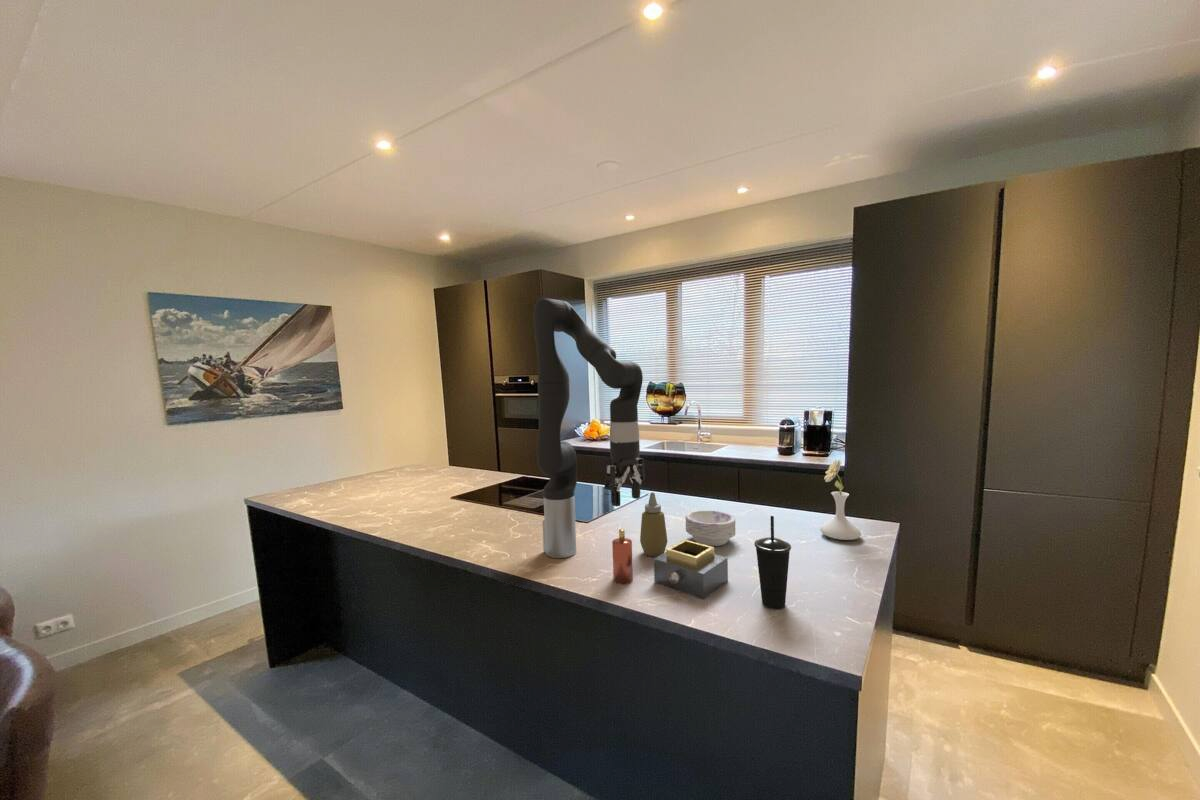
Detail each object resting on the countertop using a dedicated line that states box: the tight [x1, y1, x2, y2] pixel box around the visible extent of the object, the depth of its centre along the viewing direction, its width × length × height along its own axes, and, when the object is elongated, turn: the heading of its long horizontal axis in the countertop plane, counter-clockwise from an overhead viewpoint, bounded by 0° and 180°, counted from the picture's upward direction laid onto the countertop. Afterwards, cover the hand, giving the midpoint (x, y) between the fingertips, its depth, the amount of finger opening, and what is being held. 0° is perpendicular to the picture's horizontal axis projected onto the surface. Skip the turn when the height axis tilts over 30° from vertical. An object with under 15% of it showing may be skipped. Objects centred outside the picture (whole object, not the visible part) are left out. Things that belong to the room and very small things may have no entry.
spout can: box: [611, 528, 634, 585], centre depth 114 cm, size 5×5×13 cm
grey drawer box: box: [653, 539, 729, 600], centre depth 111 cm, size 14×14×8 cm
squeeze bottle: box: [639, 492, 668, 557], centre depth 130 cm, size 8×8×18 cm
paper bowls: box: [684, 509, 736, 547], centre depth 139 cm, size 15×15×8 cm
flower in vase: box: [819, 459, 862, 541], centre depth 138 cm, size 13×11×25 cm
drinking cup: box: [753, 515, 792, 610], centre depth 99 cm, size 8×8×20 cm
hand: (626, 501), depth 114 cm, fingers open, 8 cm apart
